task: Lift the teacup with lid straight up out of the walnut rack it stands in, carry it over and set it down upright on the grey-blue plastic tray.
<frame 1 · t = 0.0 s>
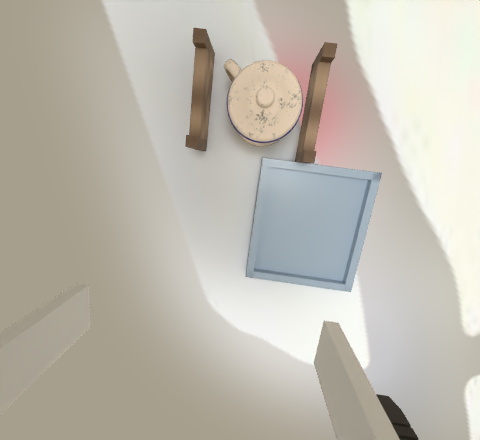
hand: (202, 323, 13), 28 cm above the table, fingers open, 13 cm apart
walnut rack: (256, 110, 36), on the table
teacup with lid: (256, 110, 36), on the table
tray: (306, 225, 40), on the table
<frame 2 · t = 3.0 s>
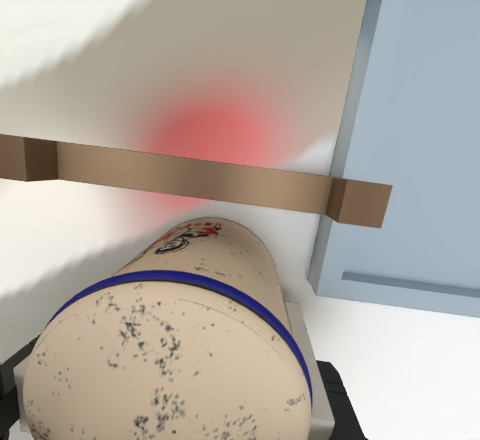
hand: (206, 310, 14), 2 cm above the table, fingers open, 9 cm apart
walnut rack: (200, 291, 16), on the table
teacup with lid: (197, 289, 16), on the table, touching gripper
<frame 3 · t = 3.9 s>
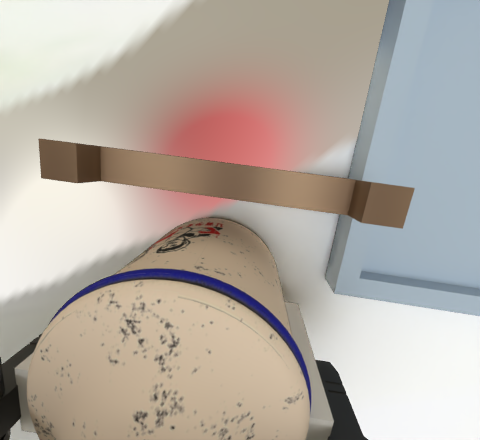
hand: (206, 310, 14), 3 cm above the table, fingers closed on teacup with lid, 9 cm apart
walnut rack: (221, 288, 17), on the table
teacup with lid: (199, 289, 16), point 1 cm above the table, touching gripper
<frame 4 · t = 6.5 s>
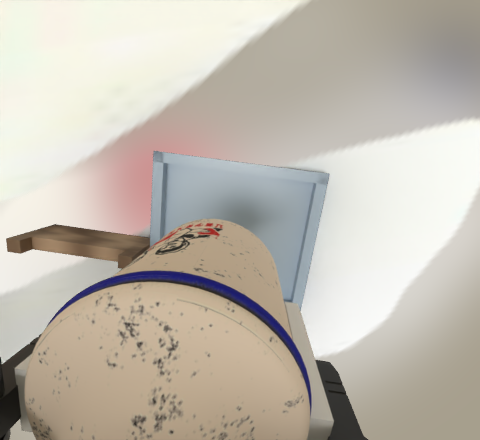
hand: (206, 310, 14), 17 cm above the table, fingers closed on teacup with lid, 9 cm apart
walnut rack: (105, 290, 34), on the table
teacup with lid: (198, 289, 16), point 14 cm above the table, touching gripper
tray: (232, 233, 30), on the table
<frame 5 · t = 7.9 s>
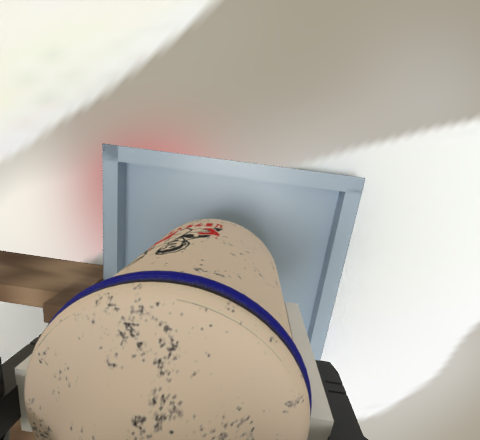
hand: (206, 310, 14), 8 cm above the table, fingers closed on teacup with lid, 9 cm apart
walnut rack: (51, 334, 25), on the table
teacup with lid: (198, 289, 16), point 5 cm above the table, touching gripper
tray: (222, 260, 22), on the table
when the fingers open (4 cm above the table, at t = 9.2 s): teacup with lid stays where it is, resting on tray.
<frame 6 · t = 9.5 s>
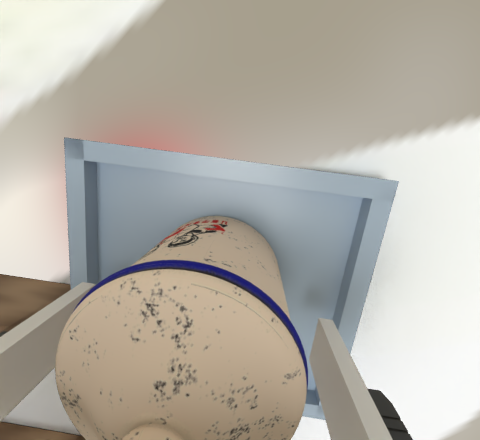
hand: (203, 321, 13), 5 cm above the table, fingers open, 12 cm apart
walnut rack: (16, 364, 21), on the table
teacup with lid: (204, 283, 17), point 1 cm above the table, touching tray
tray: (216, 280, 18), on the table
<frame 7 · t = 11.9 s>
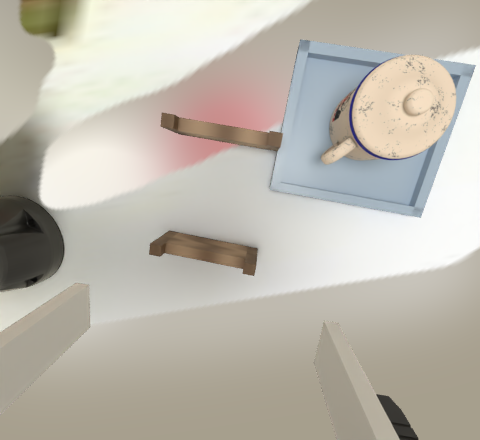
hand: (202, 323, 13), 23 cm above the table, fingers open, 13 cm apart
walnut rack: (220, 193, 35), on the table
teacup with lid: (352, 133, 31), point 1 cm above the table, touching tray
tray: (357, 135, 31), on the table
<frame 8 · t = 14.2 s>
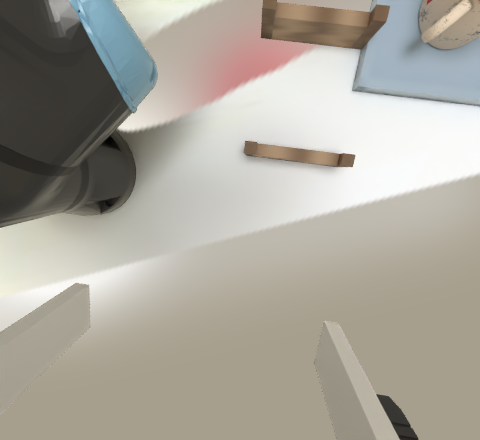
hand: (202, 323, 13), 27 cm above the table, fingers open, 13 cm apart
walnut rack: (301, 99, 34), on the table
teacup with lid: (440, 22, 31), point 1 cm above the table, touching tray
tray: (444, 25, 31), on the table
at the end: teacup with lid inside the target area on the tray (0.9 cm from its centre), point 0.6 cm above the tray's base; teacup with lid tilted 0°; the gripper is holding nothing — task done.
